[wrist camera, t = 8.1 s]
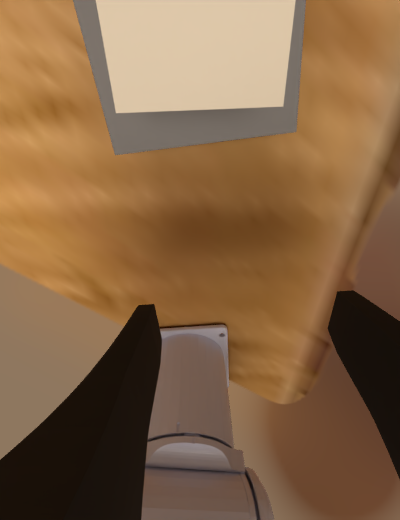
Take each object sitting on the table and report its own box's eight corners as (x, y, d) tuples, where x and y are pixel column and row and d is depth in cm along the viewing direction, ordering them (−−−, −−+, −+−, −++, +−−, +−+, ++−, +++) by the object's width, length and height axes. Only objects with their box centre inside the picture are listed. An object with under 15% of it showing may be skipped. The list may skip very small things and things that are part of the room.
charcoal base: (276, 124, 16) (296, 131, 13) (129, 143, 16) (115, 155, 13) (285, -116, 11) (319, -192, 8) (75, -80, 11) (35, -141, 8)
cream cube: (253, 101, 12) (283, 106, 8) (144, 106, 12) (115, 113, 8) (263, -62, 9) (317, -188, 5) (123, -56, 9) (64, -175, 5)
